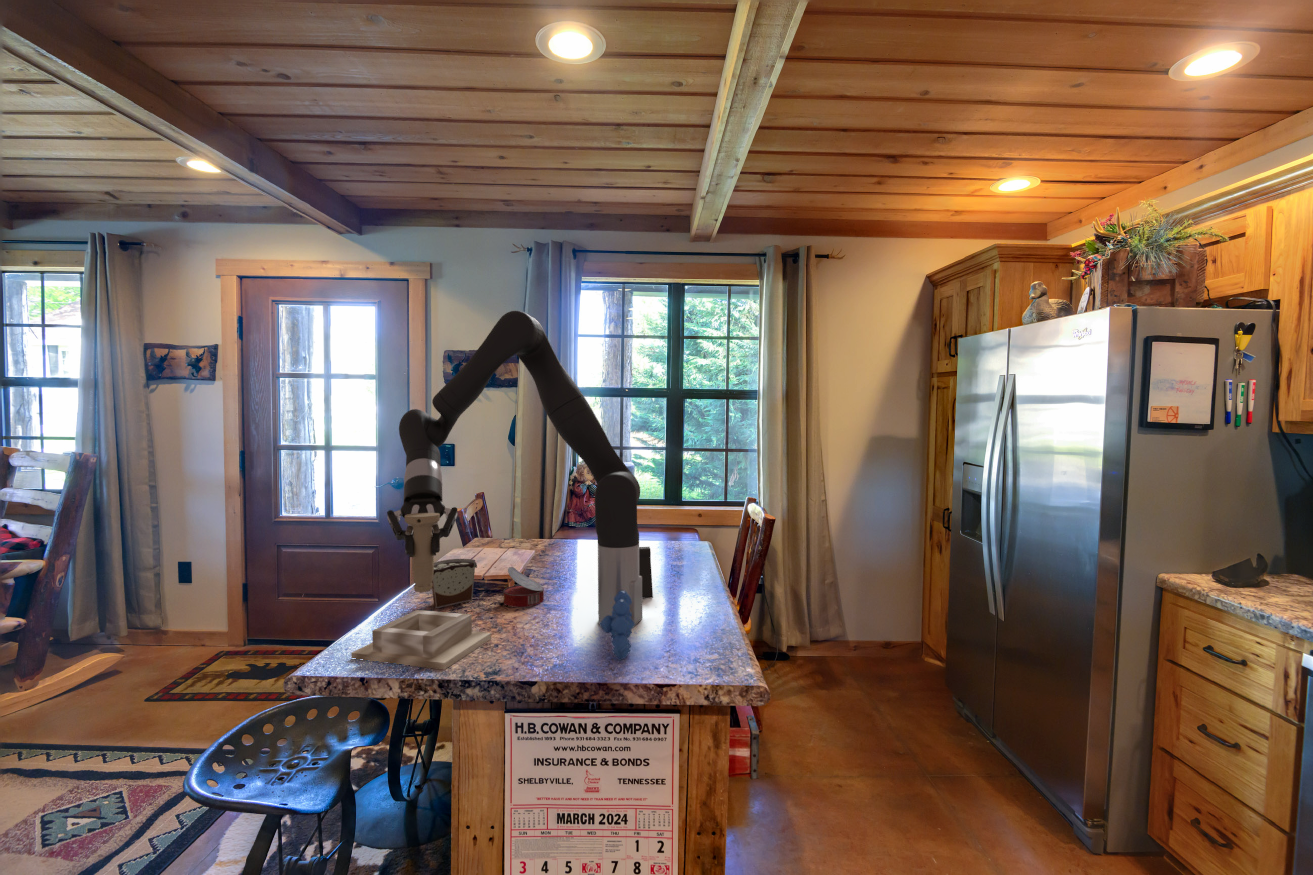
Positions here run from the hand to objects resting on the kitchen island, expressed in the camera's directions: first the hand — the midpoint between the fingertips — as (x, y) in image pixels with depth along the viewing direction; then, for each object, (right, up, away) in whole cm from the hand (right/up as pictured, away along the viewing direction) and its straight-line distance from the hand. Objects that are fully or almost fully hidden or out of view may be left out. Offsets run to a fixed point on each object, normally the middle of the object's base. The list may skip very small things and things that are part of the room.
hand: (422, 553), depth 116 cm
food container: (-7, -19, +34) cm, 39 cm away
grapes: (+38, -19, -2) cm, 42 cm away
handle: (-1, -8, +2) cm, 8 cm away
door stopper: (+41, -18, +40) cm, 60 cm away
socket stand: (-1, -19, +2) cm, 19 cm away
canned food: (+12, -19, +34) cm, 41 cm away
